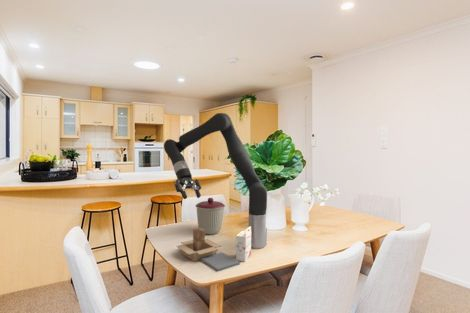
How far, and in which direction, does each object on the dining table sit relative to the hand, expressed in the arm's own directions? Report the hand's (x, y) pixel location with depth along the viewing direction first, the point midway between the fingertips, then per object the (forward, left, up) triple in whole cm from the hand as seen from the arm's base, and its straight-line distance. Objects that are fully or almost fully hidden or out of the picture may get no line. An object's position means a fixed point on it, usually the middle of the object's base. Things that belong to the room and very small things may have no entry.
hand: (192, 197), depth 138 cm
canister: (-22, -17, -27) cm, 39 cm away
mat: (-2, +21, -26) cm, 34 cm away
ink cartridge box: (-14, +24, -27) cm, 38 cm away
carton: (+1, +8, -26) cm, 27 cm away
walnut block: (+1, +8, -26) cm, 27 cm away
